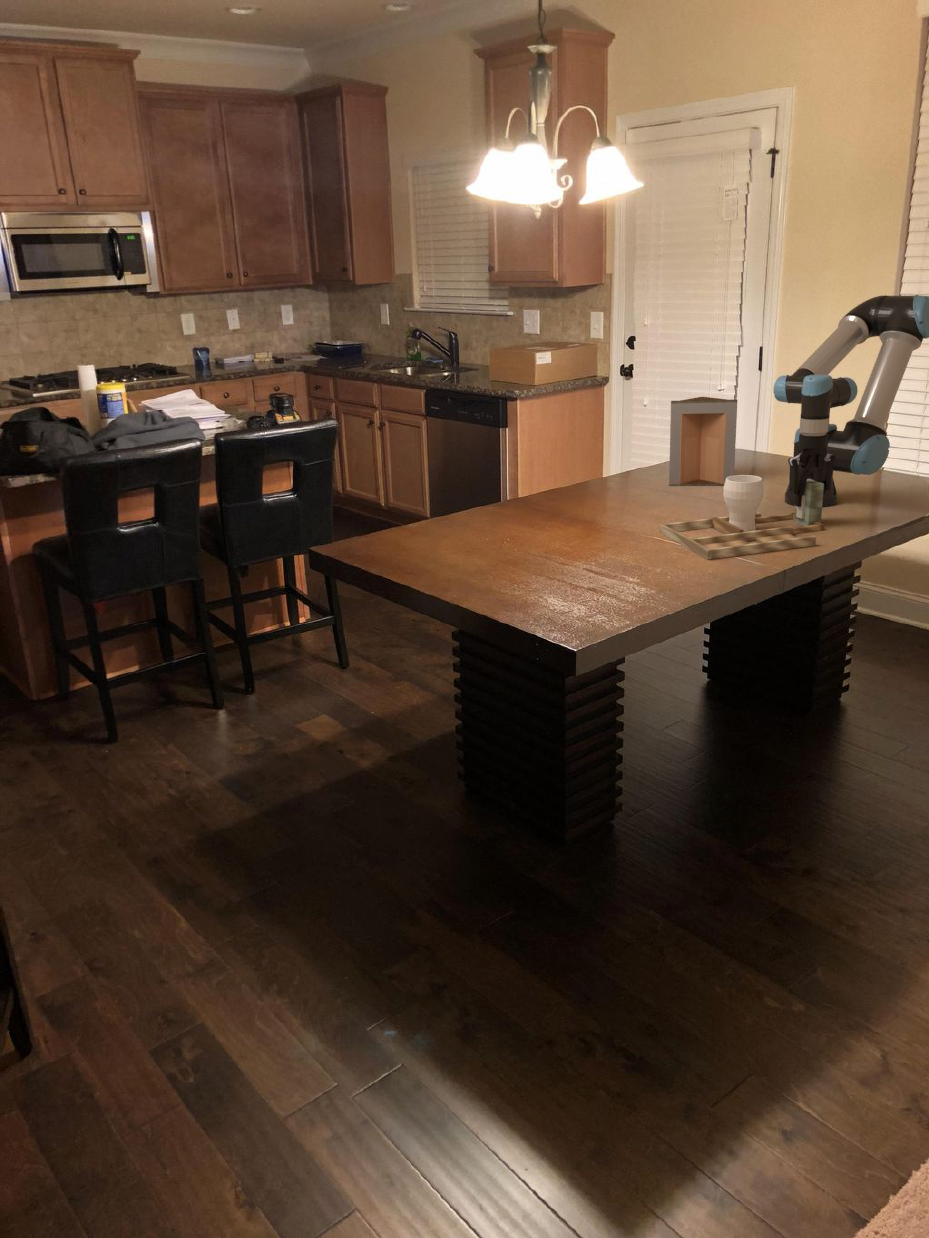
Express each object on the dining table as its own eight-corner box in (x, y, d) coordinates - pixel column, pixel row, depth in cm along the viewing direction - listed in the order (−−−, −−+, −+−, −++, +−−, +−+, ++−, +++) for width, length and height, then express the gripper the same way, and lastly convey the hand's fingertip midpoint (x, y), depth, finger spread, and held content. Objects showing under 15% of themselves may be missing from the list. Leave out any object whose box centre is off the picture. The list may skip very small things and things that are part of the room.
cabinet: (669, 486, 327) (671, 401, 317) (669, 479, 336) (671, 397, 326) (733, 486, 322) (737, 400, 313) (732, 479, 331) (736, 395, 321)
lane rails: (759, 520, 281) (759, 512, 280) (815, 545, 255) (816, 536, 254) (659, 532, 274) (660, 524, 273) (707, 559, 248) (707, 550, 248)
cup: (763, 536, 265) (767, 482, 260) (723, 537, 267) (726, 483, 261) (758, 526, 275) (761, 474, 270) (719, 527, 276) (721, 474, 271)
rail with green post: (798, 517, 282) (801, 476, 278) (828, 529, 269) (832, 486, 264) (712, 527, 276) (714, 486, 272) (738, 540, 263) (741, 497, 258)
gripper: (833, 428, 271) (826, 510, 280) (778, 434, 268) (773, 517, 276) (849, 432, 265) (842, 516, 273) (793, 438, 261) (787, 523, 269)
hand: (807, 516), depth 274 cm, fingers closed on rail with green post, 4 cm apart
